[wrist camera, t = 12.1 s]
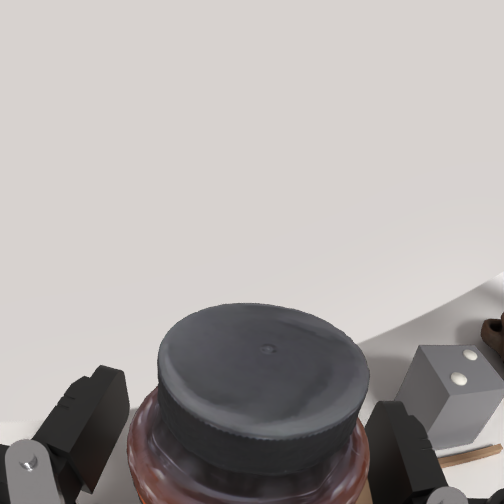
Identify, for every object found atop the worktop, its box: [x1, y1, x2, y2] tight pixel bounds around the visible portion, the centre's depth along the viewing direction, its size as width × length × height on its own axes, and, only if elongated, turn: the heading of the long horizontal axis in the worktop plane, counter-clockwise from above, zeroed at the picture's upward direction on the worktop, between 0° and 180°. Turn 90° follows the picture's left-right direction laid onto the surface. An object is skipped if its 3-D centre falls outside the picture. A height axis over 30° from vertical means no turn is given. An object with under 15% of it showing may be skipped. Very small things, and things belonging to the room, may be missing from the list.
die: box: [394, 345, 504, 451], centre depth 16 cm, size 5×5×5 cm
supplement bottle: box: [127, 303, 370, 504], centre depth 8 cm, size 6×6×11 cm
